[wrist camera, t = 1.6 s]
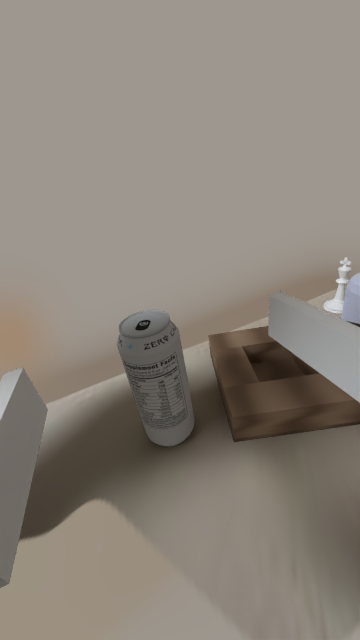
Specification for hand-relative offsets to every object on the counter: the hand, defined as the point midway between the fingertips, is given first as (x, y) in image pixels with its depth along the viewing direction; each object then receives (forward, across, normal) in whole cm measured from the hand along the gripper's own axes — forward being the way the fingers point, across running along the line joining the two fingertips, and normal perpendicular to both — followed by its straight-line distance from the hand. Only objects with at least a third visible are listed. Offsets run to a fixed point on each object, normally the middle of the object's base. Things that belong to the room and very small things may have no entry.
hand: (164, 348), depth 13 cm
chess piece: (+22, +39, -18) cm, 48 cm away
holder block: (+10, +16, -18) cm, 26 cm away
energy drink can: (+10, 0, -18) cm, 20 cm away
